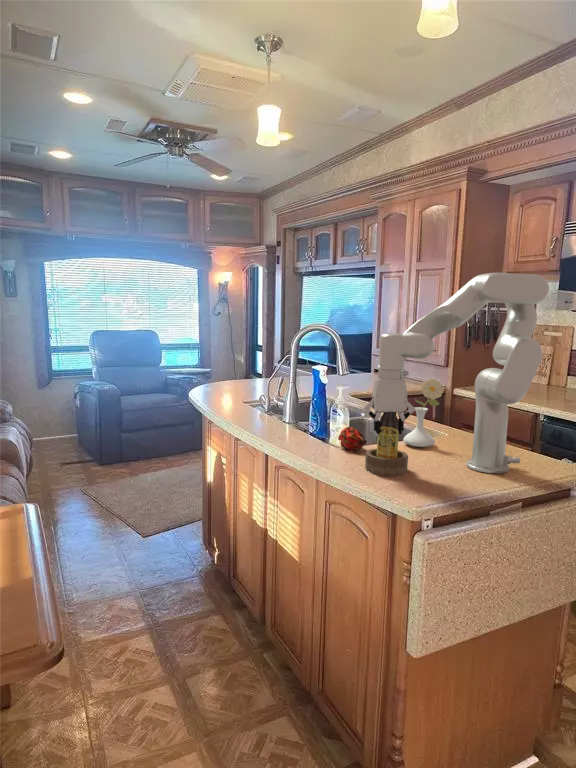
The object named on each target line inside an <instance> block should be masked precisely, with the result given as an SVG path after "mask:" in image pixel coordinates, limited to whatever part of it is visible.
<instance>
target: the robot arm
mask: <svg viewBox="0 0 576 768" xmlns="http://www.w3.org/2000/svg"><path fill="white" fill-rule="evenodd" d="M549 289H550V287H549V283H548V281H547V280H546V278H544V277H543V276H542V275H539V274H535V273H534V274H532V273H511V272H510V273H509V272H489V273H481V274H478V275H476V276H474V277H472V279H470V280H468V282H467V283H465V284H464V285H463V286H462V287H461V288H460V289H459V290H458V291H456V292H455V293H454V294H453V295H452V296H450V297H449V298H448V299H447V300H446V301H444V302H443V303H442V304H441V305H439V306H437V307H436V308H435V309H433V310H432V311H430V312H429V313H427V314H426V315H423V316H422V317H421V318H420V319H418V320H417V321H415V322H414V324H412V325H411V326H410V327H409V328H408V329H407V330H405V332H403V333H402V334H401V333H382V334H381V335H380V337H379V344H378V345H379V346H378V347H379V349H378V350H379V351H378V370H377V371H378V374H377V378H375V379H374V383H373V389H372V397H371V400H370V401H369V402H368V403H367V404H366V405H365V406H364V407H363V410H364V411H365V412H366V414H368V415H369V416H370V417H371V418H372V419H373V431H374V432H375V433H376V435H378V434H379V433H380V421H379V420H380V418H381V416H382V413H384V412H395V413H396V414H397V415H398V416H397V417H398V420H399V435H402V432H404V428H405V427H404V425H405V421H406V420H407V419H408V417H410V416H411V414H413V413H414V412H416V411H415V407H414V405H412V404H411V402H409V401H408V389H407V381H406V379H404V378H405V377H407V376H409V375H410V374H409V371H408V370H405V359H406V358H409V359H415V360H416V359H417V360H422V359H426V358H428V357H430V355H432V353H433V352H434V349H435V343H434V341H433V339H434V338H436V337H437V336H439V335H441V334H443V333H446V332H447V331H451V330H454V329H456V328H459V327H460V326H462V325H464V324H466V322H468V320H470V319H471V318H472V317H473V316H474V315H475V314H477V313H478V312H479V311H480V310H482V308H484V307H485V306H486V305H487V304H489V303H490V304H491V303H500V304H504V305H505V308H506V319H505V322H504V324H503V327H502V329H501V332H500V334H499V336H498V338H497V341H496V343H495V345H494V347H493V349H492V358H493V359H494V361H495V362H496V363H497V364H499V365H501V366H503V368H497V367H490V368H488V367H487V368H485V369H483V370H481V371H480V372H479V373H478V374H477V376H476V377H475V381H474V395H475V415H474V416H475V417H474V425H473V427H474V428H473V429H474V430H473V438H472V439H473V442H472V454H471V458H470V459H468V460H466V463H465V464H466V466H467V468H469V469H471V470H474V471H476V472H481V473H488V474H505V473H508V472H509V471H510V466H509V465H510V464H520V463H521V457H518V456H515V457H513V456H512V455H507V454H506V447H507V433H508V422H509V406H508V405H513V404H516V403H519V402H520V401H522V399H524V397H525V396H526V394H527V392H528V391H529V388H530V386H531V384H532V382H533V380H534V379H535V375H536V373H537V371H538V369H539V366H540V365H541V362H542V357H543V352H542V347H541V345H540V343H539V342H538V341H536V339H534V338H532V336H533V335H534V334H533V333H534V332H535V330H536V326H537V323H538V322H537V321H538V314H537V309H536V307H535V305H538V304H539V303H541V302H543V301H544V300H545V299H546V298H547V296H548V294H549V291H550V290H549ZM371 408H372V409H373V410H374V412H373V411H372V410H371ZM407 408H408V409H407Z"/></svg>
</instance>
